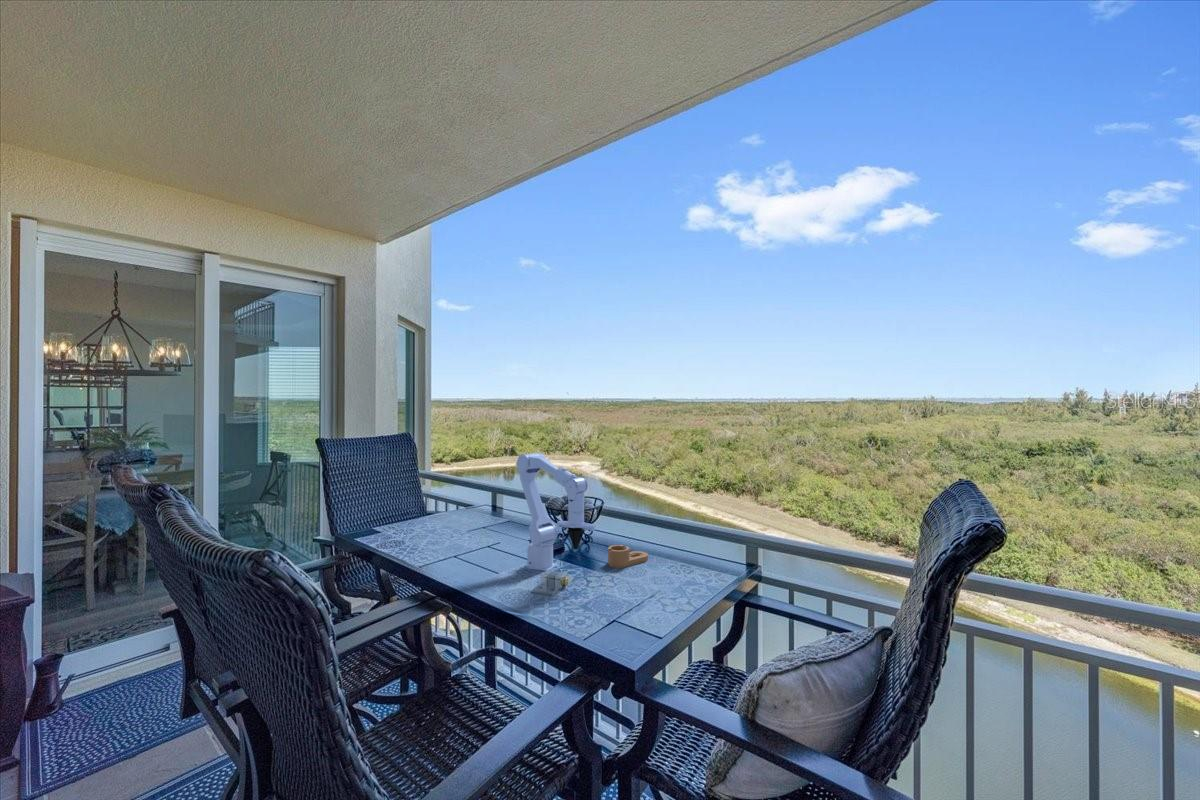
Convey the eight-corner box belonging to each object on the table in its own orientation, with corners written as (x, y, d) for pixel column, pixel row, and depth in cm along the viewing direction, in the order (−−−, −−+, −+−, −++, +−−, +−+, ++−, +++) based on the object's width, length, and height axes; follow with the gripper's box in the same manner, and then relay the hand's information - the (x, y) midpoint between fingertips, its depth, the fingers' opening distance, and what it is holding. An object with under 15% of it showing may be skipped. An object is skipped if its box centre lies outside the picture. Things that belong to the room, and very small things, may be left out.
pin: (542, 583, 165) (542, 575, 165) (545, 580, 168) (545, 573, 168) (565, 586, 162) (565, 579, 162) (568, 584, 164) (568, 576, 164)
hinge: (532, 592, 159) (532, 580, 159) (554, 575, 174) (554, 564, 174) (552, 595, 156) (552, 583, 156) (573, 578, 171) (573, 567, 171)
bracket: (617, 571, 180) (617, 552, 180) (603, 565, 187) (603, 547, 187) (652, 561, 191) (652, 544, 191) (638, 556, 197) (638, 539, 198)
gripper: (553, 511, 172) (553, 549, 172) (590, 515, 167) (590, 554, 167) (562, 507, 179) (561, 544, 178) (597, 511, 173) (597, 548, 173)
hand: (576, 548), depth 173 cm, fingers closed
